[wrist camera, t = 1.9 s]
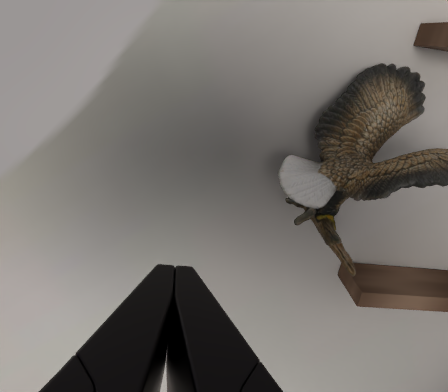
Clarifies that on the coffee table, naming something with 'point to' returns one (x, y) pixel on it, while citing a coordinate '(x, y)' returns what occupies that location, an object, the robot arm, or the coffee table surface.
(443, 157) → the eagle figurine
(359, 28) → the coffee table surface
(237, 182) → the coffee table surface
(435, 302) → the walnut bay
